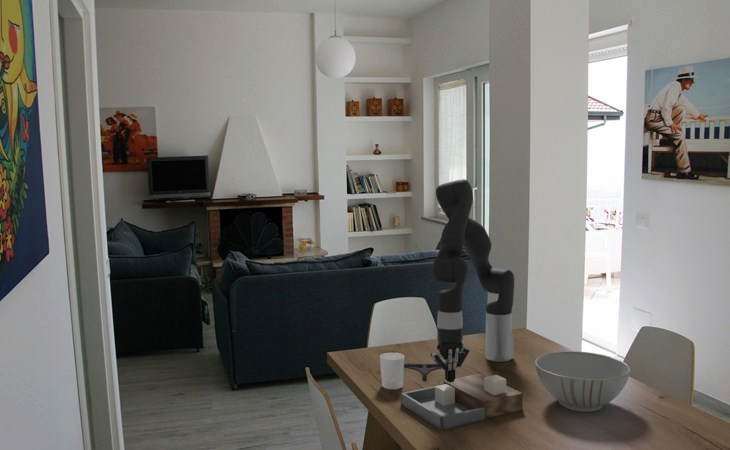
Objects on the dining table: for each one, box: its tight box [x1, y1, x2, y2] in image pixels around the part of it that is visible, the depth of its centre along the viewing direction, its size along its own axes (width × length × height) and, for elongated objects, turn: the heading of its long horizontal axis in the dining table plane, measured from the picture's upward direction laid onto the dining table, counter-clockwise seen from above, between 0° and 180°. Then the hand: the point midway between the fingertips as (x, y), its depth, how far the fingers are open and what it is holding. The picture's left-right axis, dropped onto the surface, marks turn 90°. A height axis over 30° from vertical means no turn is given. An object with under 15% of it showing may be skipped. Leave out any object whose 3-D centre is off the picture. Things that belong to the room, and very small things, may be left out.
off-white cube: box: [484, 374, 507, 395], centre depth 191 cm, size 4×4×4 cm
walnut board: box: [443, 373, 524, 419], centre depth 195 cm, size 14×20×5 cm
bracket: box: [404, 363, 442, 381], centre depth 224 cm, size 14×15×3 cm
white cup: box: [379, 352, 405, 390], centre depth 211 cm, size 8×8×10 cm
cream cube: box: [435, 383, 455, 406], centre depth 195 cm, size 4×4×4 cm
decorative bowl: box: [534, 350, 632, 413], centre depth 193 cm, size 27×27×12 cm
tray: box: [400, 385, 485, 431], centre depth 189 cm, size 14×22×4 cm, turn 27°
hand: (450, 381), depth 196 cm, fingers closed
